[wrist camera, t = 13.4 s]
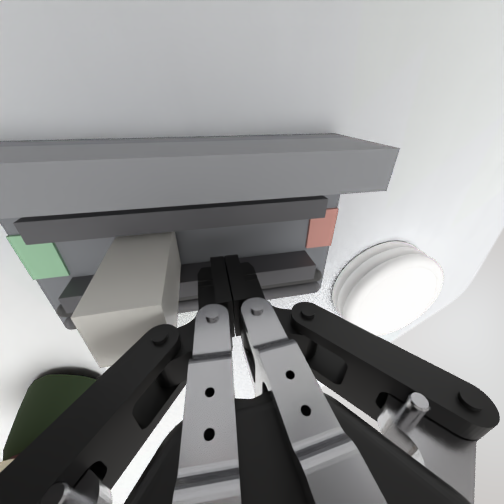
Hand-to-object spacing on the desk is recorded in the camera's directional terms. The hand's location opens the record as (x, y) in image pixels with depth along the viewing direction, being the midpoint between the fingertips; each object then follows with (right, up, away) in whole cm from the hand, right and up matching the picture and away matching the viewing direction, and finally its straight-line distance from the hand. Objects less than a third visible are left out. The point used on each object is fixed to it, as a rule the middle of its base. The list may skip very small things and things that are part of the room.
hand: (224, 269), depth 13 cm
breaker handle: (-5, +1, +2) cm, 5 cm away
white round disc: (+14, -2, +12) cm, 19 cm away
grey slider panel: (-3, +3, +4) cm, 6 cm away
